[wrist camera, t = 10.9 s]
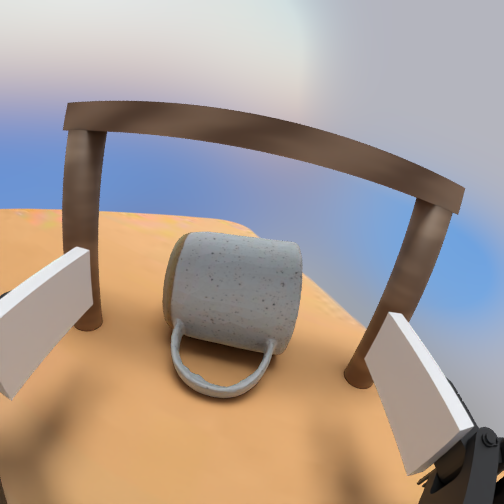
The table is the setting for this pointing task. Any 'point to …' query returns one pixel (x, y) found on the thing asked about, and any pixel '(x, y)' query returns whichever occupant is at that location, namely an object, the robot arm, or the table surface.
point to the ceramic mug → (232, 299)
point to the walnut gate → (270, 141)
